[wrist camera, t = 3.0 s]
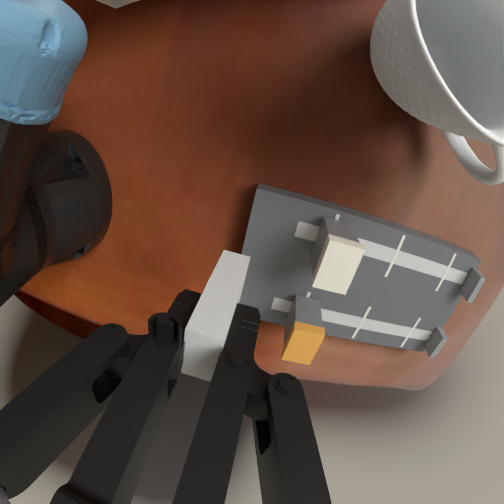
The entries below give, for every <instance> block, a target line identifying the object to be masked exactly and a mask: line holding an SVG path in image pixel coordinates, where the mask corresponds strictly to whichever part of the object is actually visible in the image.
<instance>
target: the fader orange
mask: <svg viewBox="0 0 504 504" xmlns="http://www.w3.org/2000/svg"><path fill="white" fill-rule="evenodd" d="M324 337H325V329H324V327H323V325H322V314H321V305H320V300H317V299H312V298H308V297H304V296H300V295H296V296H295V298H294V301H293V304H292V306H291V309H290V311H289V314H288V317H287V319H286V322H285V334H284V348H283V350H282V357H281V359H282V360H287V361H291V362H296V363H301V364H307V365H310V363H311V361H312V359H313V357H314V356H315V354H316V352H317V350H318V348H319V346H320V344H321V343H322V341H323V339H324Z"/></svg>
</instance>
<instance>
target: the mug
mask: <svg viewBox="0 0 504 504" xmlns="http://www.w3.org/2000/svg"><path fill="white" fill-rule="evenodd" d="M370 57H371V63H372V66H373V70H374V73H375V75H376V78H377V79H378V81H379V83H380V85H381V86H382V87H383V90H384V91H385V92H386V93H387V95H388V96H389V97H390V98H391V99H392V100H393V101H394V102H395V103H396V104H397V105H398V106H399V107H401V108H402V109H403V110H404V111H406V112H408V113H409V114H410V115H411V116H413V117H416V118H417V119H418V120H420V121H422V122H425V123H426V124H427V125H430V126H434V127H436V128H437V129H439V130H443V132H444V135H445V137H446V139H447V141H448V143H449V145H450V147H451V148H452V150H453V152H454V154H455V155H456V157H457V159H458V160H459V161H460V163H461V164H462V166H463V167H464V168H465V169H466V171H467V172H468V173H469V174H470V175H471V176H472V177H474V178H475V179H476V180H478V181H479V182H481V183H483V184H486V185H496V184H500V183H502V182H504V0H387V1H386V2H385V3H384V5H383V7H382V8H381V9H380V11H379V15H378V17H377V18H376V19H375V24H374V26H373V28H372V34H371V41H370ZM463 136H464V137H466V138H468V139H475V140H478V141H480V142H488V143H492V147H493V150H494V154H495V158H496V165H497V166H496V171H494V170H491V169H489V168H487V167H486V166H485V165H484V164H482V163H481V162H480V160H479V159H478V158H477V157H476V156H475V154H474V153H473V151H472V150H471V148H470V147H469V146H468V144H467V142H466V140H465V139H464V137H463Z"/></svg>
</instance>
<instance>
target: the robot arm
mask: <svg viewBox="0 0 504 504" xmlns="http://www.w3.org/2000/svg"><path fill="white" fill-rule="evenodd" d="M86 47H87V30H86V26H85V24H84V22H83V20H82V19H81V17H80V16H79V15H78V14H77V13H76V12H75V11H74V10H73V9H72V8H71V7H70V6H68V5H67V4H66V3H64V2H63V1H62V0H0V307H1V306H2V305H3V304H4V303H5V302H6V301H7V300H8V299H9V298H10V297H11V296H12V295H13V294H14V293H16V292H17V291H18V290H19V289H20V288H21V287H22V286H23V285H24V284H26V283H27V282H28V281H29V280H30V279H31V278H32V277H33V276H35V275H36V274H37V273H38V272H39V271H41V270H42V269H44V268H47V267H50V266H54V265H57V264H61V263H64V262H68V261H72V260H75V259H78V258H80V257H82V256H84V255H85V254H87V253H88V252H89V251H91V250H92V249H93V248H94V247H95V246H97V245H98V244H99V243H100V242H101V240H102V239H103V237H104V236H105V234H106V232H107V229H108V227H109V223H110V219H111V213H112V194H111V187H110V182H109V178H108V175H107V172H106V169H105V167H104V164H103V162H102V160H101V158H100V156H99V155H98V153H97V152H96V150H95V149H94V147H93V146H92V145H91V144H90V143H89V142H88V141H87V140H86V139H85V138H83V137H82V136H81V135H79V134H77V133H75V132H73V131H69V130H55V131H50V132H47V131H48V129H49V127H50V124H51V122H52V120H53V119H55V118H56V117H57V115H58V113H59V111H60V109H61V108H60V107H61V105H62V103H63V99H64V93H65V91H66V89H67V87H68V85H69V83H70V81H71V79H72V77H73V75H74V73H75V71H76V69H77V67H78V65H79V63H80V62H81V60H82V58H83V56H84V53H85V50H86ZM249 261H250V257H249V256H246V255H242V254H238V253H234V252H230V251H227V250H224V251H223V253H222V255H221V257H220V259H219V261H218V263H217V265H216V267H215V269H214V271H213V273H212V275H211V277H210V279H209V281H208V283H207V285H206V287H205V289H204V291H203V293H202V294H201V293H197V292H194V291H190V290H187V289H185V290H184V291H182V292H181V293H179V294H178V295H177V297H176V298H175V300H174V302H173V303H172V305H171V307H170V308H169V310H168V312H167V313H157V314H154V315H152V316H151V317H150V318H149V319H148V332H149V334H147V335H132V334H127V331H126V329H125V328H124V327H123V326H121V325H118V324H113V323H110V324H105V325H103V326H101V327H99V328H98V329H97V330H96V331H94V332H93V333H92V334H91V335H89V336H88V337H87V338H86V339H84V340H83V341H82V342H81V343H80V344H78V345H77V346H76V347H74V348H73V349H72V350H71V351H70V352H69V353H67V354H66V355H65V356H63V357H62V358H61V359H60V360H59V361H57V362H56V363H55V364H54V365H53V366H51V367H50V368H49V369H48V370H46V371H45V372H44V373H43V374H42V375H41V376H39V377H38V378H37V379H36V380H35V381H33V382H32V383H31V384H30V385H29V386H28V387H26V388H25V389H24V390H23V391H22V392H21V393H19V394H18V395H17V396H16V397H15V398H14V399H13V400H12V401H10V402H9V403H8V404H7V405H6V406H5V407H3V408H2V409H1V410H0V504H11V503H10V502H9V500H8V499H11V498H13V497H15V496H17V495H19V494H20V493H22V492H23V491H24V490H26V489H27V488H28V487H29V486H30V485H31V484H32V483H33V482H34V481H35V480H36V479H37V478H38V477H39V476H40V475H41V474H42V473H43V472H44V471H45V470H46V469H47V468H48V466H49V465H50V464H51V463H52V462H53V461H54V460H55V459H56V458H57V457H58V456H59V455H60V454H61V453H62V452H63V451H64V450H65V449H66V448H67V447H68V446H69V445H70V444H71V443H72V442H73V441H74V440H75V439H76V438H77V436H78V435H79V434H80V433H81V432H82V431H83V430H84V429H85V428H86V427H87V426H88V425H89V424H90V423H91V422H92V421H93V420H94V419H95V418H96V417H97V416H98V415H99V414H100V413H101V411H102V410H103V409H104V408H105V407H106V406H107V405H108V406H107V408H106V410H105V412H104V414H103V416H102V418H101V419H100V421H99V423H98V425H97V427H96V429H95V431H94V432H93V434H92V436H91V438H90V440H89V442H88V444H87V446H86V448H85V450H84V452H83V454H82V456H81V458H80V460H79V462H78V464H77V466H76V468H75V470H74V472H73V474H72V476H71V479H70V480H69V482H68V483H67V484H65V485H63V486H61V487H60V488H59V489H58V490H57V491H56V492H55V494H54V496H53V498H52V500H51V502H50V504H130V503H131V500H132V498H133V495H134V493H135V490H136V487H137V485H138V482H139V479H140V477H141V474H142V472H143V469H144V466H145V464H146V461H147V459H148V456H149V453H150V451H151V448H152V446H153V443H154V440H155V438H156V435H157V433H158V430H159V428H160V425H161V423H162V420H163V418H164V415H165V413H166V410H167V408H168V405H169V403H170V400H171V398H172V395H173V393H174V390H175V388H176V385H177V383H178V375H179V372H180V370H181V368H182V371H181V372H182V373H184V374H188V375H191V376H194V377H197V378H201V379H204V380H208V381H211V383H210V386H209V389H208V392H207V396H206V398H205V402H204V405H203V408H202V411H201V414H200V418H199V421H198V424H197V427H196V430H195V433H194V437H193V440H192V443H191V446H190V449H189V452H188V456H187V459H186V462H185V465H184V468H183V471H182V474H181V478H180V481H179V484H178V487H177V491H176V494H175V497H174V500H173V503H172V504H224V502H225V498H226V494H227V489H228V485H229V480H230V476H231V471H232V466H233V462H234V457H235V452H236V448H237V443H238V438H239V433H240V428H241V423H242V419H243V414H245V415H247V416H249V417H250V418H252V423H253V431H254V439H255V448H256V455H257V464H258V472H259V480H260V487H261V495H262V503H263V504H331V500H330V495H329V491H328V487H327V483H326V479H325V475H324V471H323V467H322V462H321V458H320V454H319V450H318V446H317V442H316V438H315V435H314V431H313V426H312V423H311V419H310V415H309V411H308V407H307V403H306V399H305V396H304V391H303V387H302V386H301V383H300V381H299V380H298V379H297V378H296V377H294V376H292V375H290V374H287V373H277V374H275V375H273V376H272V375H270V374H268V373H267V372H265V371H263V370H262V369H260V368H259V367H258V366H257V364H256V363H255V360H254V350H255V344H256V339H257V334H258V328H259V323H260V317H261V316H260V313H259V310H258V308H255V307H251V306H247V305H243V304H240V303H239V301H240V297H241V293H242V289H243V285H244V281H245V277H246V273H247V269H248V265H249Z"/></svg>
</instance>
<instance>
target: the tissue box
mask: <svg viewBox="0 0 504 504" xmlns="http://www.w3.org/2000/svg"><path fill="white" fill-rule="evenodd" d="M96 1H99V2H101V3H104V4H106V5H108V6H111V7H113V8H119V7H122V6H124V5H127V4H130V3H133V2H136V1H139V0H96Z"/></svg>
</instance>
